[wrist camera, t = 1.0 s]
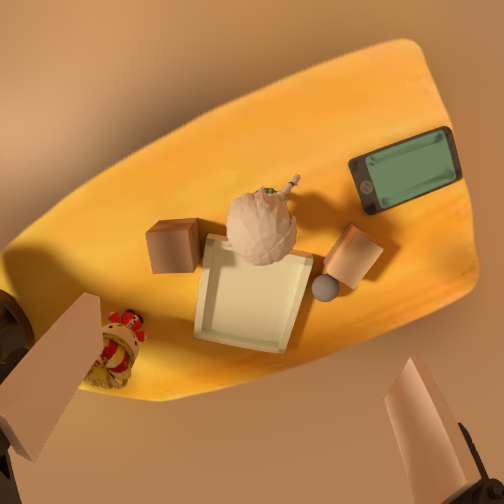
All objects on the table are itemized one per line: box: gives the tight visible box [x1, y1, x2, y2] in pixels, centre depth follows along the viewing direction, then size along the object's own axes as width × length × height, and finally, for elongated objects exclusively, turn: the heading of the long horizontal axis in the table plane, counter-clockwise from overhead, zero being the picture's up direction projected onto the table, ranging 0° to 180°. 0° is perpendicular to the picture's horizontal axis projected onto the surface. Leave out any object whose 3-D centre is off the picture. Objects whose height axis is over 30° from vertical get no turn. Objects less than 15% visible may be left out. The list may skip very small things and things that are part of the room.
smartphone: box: [348, 126, 462, 215], centre depth 34 cm, size 7×1×15 cm
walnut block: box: [145, 218, 202, 274], centre depth 37 cm, size 5×5×5 cm
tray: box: [193, 233, 314, 355], centre depth 41 cm, size 13×15×2 cm
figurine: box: [225, 174, 301, 266], centre depth 30 cm, size 10×6×15 cm, turn 136°
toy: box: [87, 310, 147, 389], centre depth 37 cm, size 7×7×15 cm
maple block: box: [323, 222, 384, 289], centre depth 37 cm, size 4×6×4 cm, turn 149°
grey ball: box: [312, 274, 339, 302], centre depth 39 cm, size 4×4×4 cm
